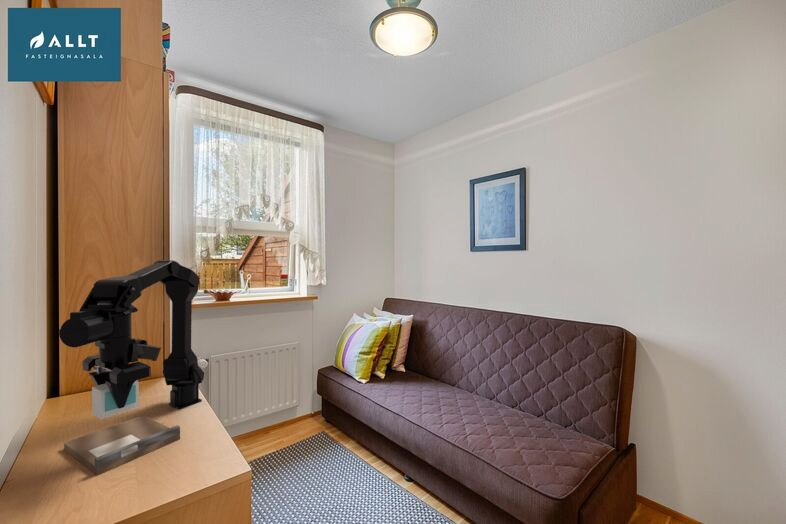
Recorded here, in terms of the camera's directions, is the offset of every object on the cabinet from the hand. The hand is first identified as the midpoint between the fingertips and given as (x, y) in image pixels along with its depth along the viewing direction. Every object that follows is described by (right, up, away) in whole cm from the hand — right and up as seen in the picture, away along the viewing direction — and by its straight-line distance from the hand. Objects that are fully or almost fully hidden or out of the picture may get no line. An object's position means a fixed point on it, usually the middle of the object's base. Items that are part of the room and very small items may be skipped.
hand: (116, 405), depth 77 cm
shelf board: (-1, -11, +4) cm, 11 cm away
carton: (0, -1, 0) cm, 1 cm away
